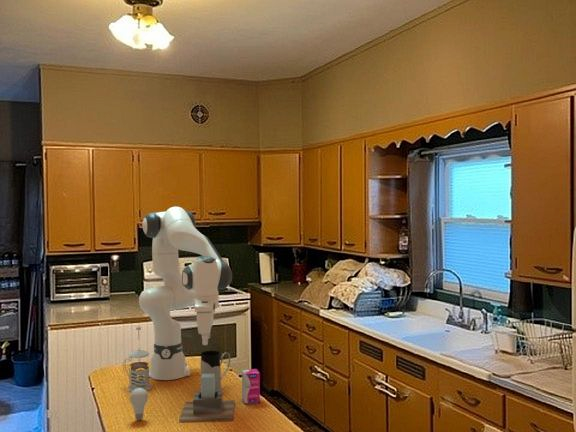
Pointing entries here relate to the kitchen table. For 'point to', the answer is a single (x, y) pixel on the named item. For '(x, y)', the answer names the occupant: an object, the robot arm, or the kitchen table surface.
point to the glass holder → (213, 366)
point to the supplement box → (250, 386)
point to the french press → (140, 382)
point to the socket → (207, 409)
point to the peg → (208, 386)
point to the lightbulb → (138, 401)
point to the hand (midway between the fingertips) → (206, 341)
